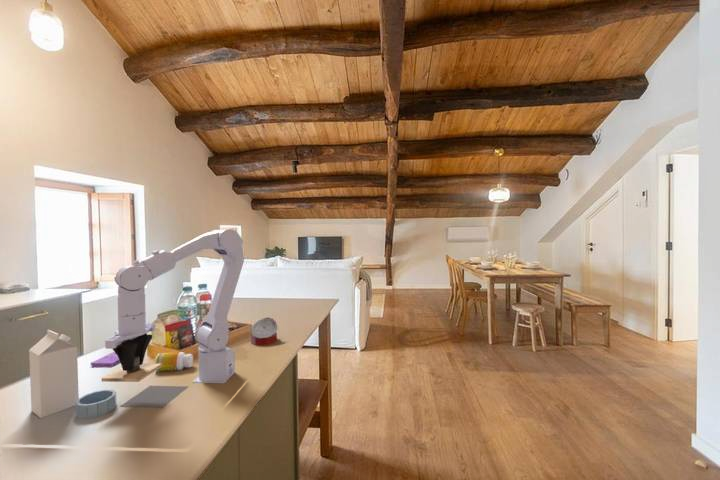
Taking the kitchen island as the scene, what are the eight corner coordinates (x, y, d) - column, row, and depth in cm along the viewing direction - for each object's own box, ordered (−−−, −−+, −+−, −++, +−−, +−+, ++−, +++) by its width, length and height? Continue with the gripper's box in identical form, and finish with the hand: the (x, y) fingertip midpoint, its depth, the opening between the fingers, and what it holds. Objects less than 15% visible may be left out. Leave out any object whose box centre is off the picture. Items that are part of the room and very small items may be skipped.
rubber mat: (188, 388, 92) (188, 386, 92) (162, 409, 81) (162, 407, 81) (150, 387, 93) (150, 385, 93) (119, 408, 82) (119, 406, 82)
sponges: (138, 353, 120) (138, 348, 120) (111, 368, 107) (111, 362, 107) (119, 353, 120) (118, 348, 120) (90, 368, 107) (90, 362, 107)
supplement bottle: (152, 370, 100) (186, 368, 101) (156, 351, 103) (189, 349, 104) (159, 373, 105) (192, 370, 106) (162, 355, 107) (194, 353, 109)
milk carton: (41, 419, 77) (38, 338, 77) (31, 411, 81) (28, 333, 80) (79, 405, 83) (76, 330, 83) (68, 398, 87) (65, 326, 86)
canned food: (277, 350, 134) (287, 330, 132) (257, 356, 125) (267, 334, 123) (261, 333, 139) (270, 313, 137) (241, 337, 131) (250, 316, 129)
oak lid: (161, 366, 89) (161, 351, 89) (138, 381, 80) (138, 365, 80) (128, 366, 89) (128, 351, 89) (101, 381, 80) (101, 364, 80)
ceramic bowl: (123, 403, 84) (123, 390, 84) (98, 420, 77) (98, 405, 77) (95, 403, 85) (94, 389, 84) (67, 419, 77) (67, 405, 77)
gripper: (137, 307, 91) (138, 356, 92) (92, 321, 77) (93, 379, 77) (162, 307, 91) (163, 356, 91) (121, 321, 76) (122, 380, 77)
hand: (132, 367), depth 84 cm, fingers closed on oak lid, 3 cm apart
